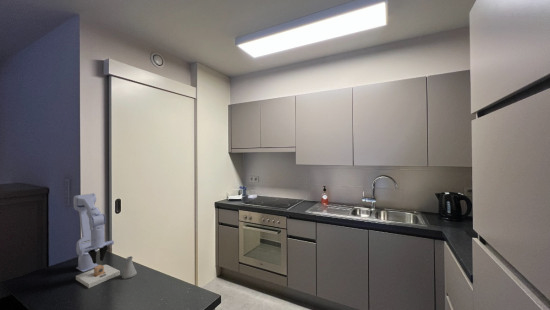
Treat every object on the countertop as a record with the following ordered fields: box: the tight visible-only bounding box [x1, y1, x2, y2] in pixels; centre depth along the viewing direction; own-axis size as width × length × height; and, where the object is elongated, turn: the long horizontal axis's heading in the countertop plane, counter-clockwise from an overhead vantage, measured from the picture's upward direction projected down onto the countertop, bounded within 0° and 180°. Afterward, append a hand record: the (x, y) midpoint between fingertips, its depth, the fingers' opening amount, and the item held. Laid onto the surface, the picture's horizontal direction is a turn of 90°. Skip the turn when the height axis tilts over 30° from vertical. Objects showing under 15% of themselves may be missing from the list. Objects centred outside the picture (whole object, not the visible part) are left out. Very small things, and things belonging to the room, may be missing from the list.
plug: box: [93, 264, 104, 277], centre depth 118 cm, size 5×3×6 cm, turn 61°
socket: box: [75, 264, 121, 289], centre depth 119 cm, size 16×14×2 cm
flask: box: [121, 256, 138, 280], centre depth 120 cm, size 7×7×10 cm
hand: (98, 261), depth 119 cm, fingers open, 3 cm apart
